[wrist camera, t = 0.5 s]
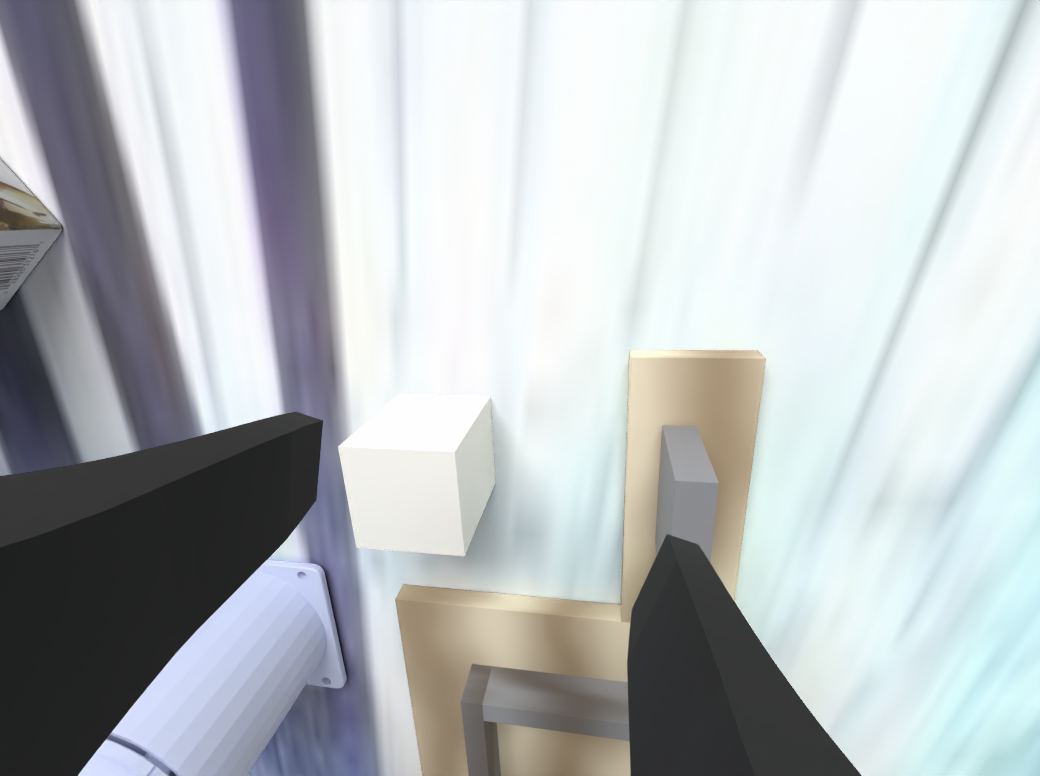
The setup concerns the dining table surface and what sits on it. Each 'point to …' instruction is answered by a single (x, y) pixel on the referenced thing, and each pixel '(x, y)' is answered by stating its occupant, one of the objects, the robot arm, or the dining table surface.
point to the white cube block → (420, 473)
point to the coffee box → (21, 233)
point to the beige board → (576, 624)
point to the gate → (686, 489)
